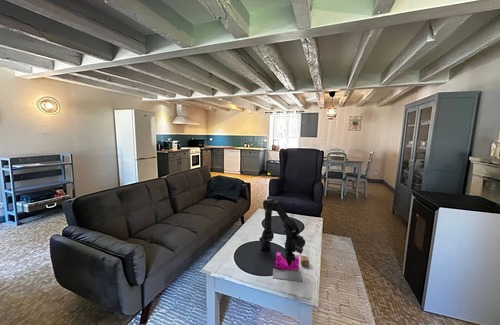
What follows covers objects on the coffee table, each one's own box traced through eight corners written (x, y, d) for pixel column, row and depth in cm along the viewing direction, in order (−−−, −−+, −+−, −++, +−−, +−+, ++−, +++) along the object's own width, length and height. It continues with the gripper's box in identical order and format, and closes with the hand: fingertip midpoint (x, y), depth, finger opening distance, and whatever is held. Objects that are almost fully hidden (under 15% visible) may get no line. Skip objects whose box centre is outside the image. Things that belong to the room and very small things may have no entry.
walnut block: (301, 265, 140) (301, 259, 140) (300, 261, 145) (300, 255, 144) (308, 266, 139) (309, 260, 139) (307, 261, 144) (308, 256, 144)
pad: (272, 278, 126) (272, 277, 126) (273, 269, 135) (273, 268, 135) (302, 281, 124) (302, 281, 124) (301, 272, 133) (301, 271, 133)
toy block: (275, 267, 137) (275, 257, 136) (276, 262, 143) (276, 252, 142) (298, 271, 133) (299, 260, 132) (298, 265, 139) (299, 255, 138)
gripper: (304, 249, 125) (303, 273, 127) (301, 235, 144) (299, 256, 146) (286, 247, 127) (284, 271, 129) (285, 233, 145) (284, 254, 147)
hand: (289, 262), depth 137 cm, fingers closed on toy block, 6 cm apart
